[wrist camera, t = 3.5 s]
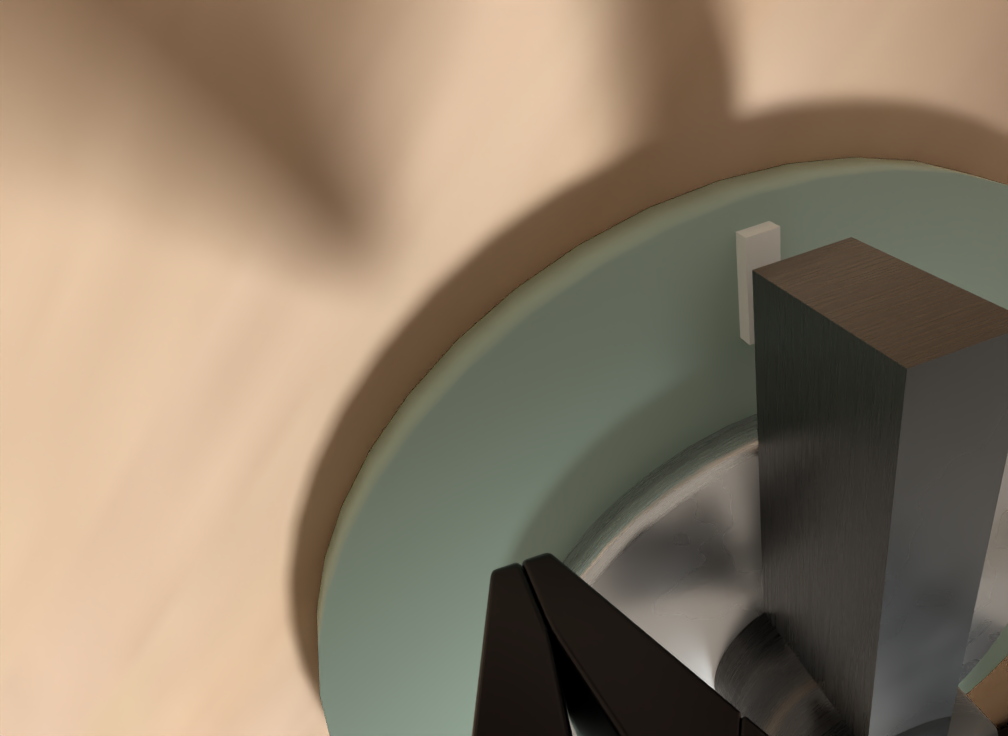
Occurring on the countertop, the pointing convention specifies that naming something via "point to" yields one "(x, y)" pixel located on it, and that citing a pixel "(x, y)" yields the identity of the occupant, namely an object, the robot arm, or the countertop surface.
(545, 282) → the dial plate
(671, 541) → the dial
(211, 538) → the countertop surface
